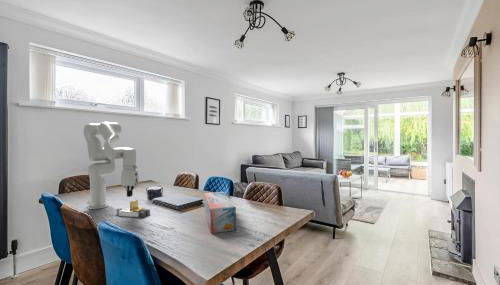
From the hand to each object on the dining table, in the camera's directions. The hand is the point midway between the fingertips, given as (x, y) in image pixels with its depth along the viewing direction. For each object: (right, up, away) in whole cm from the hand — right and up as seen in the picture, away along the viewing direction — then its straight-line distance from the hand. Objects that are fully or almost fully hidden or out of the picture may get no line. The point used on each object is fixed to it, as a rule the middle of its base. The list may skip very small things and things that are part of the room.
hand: (129, 196), depth 157 cm
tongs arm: (+1, -12, -1) cm, 12 cm away
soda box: (+58, -12, -11) cm, 60 cm away
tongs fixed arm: (+4, -12, +1) cm, 13 cm away
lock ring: (+6, -8, -1) cm, 10 cm away
